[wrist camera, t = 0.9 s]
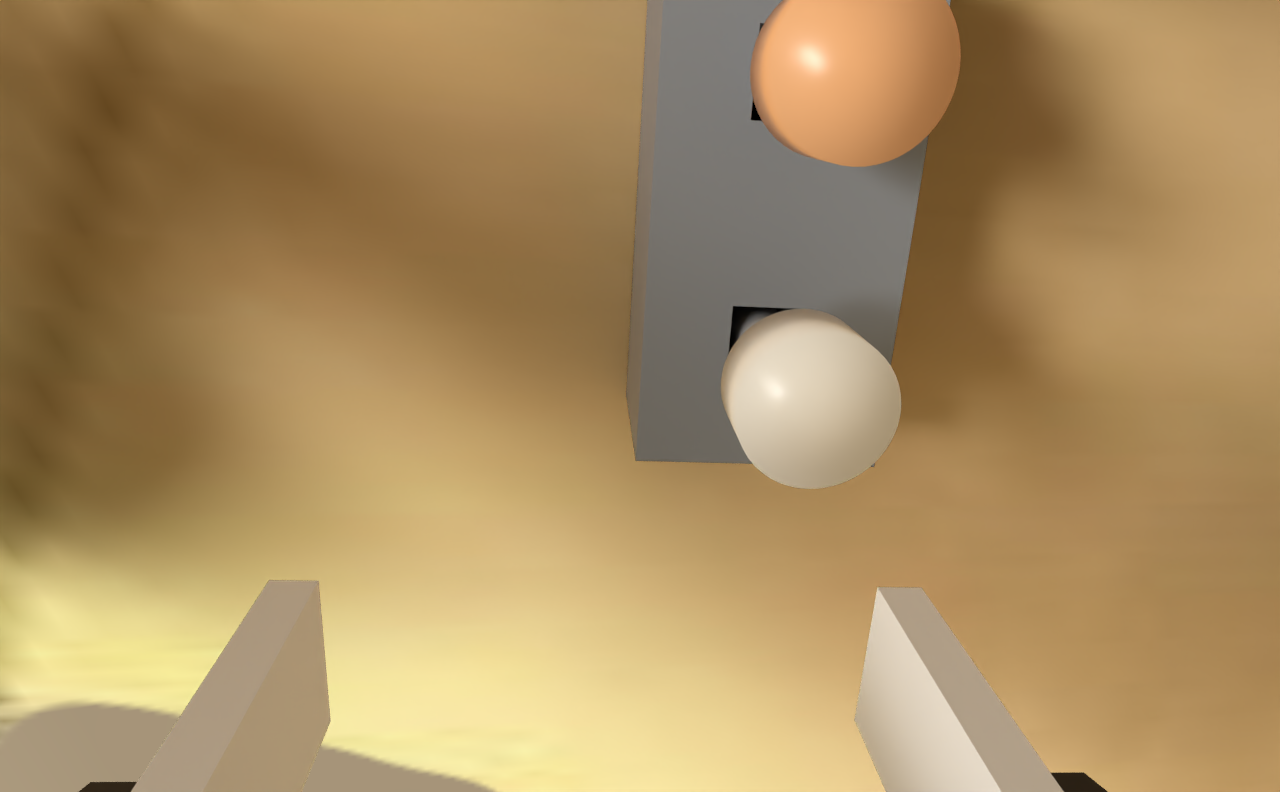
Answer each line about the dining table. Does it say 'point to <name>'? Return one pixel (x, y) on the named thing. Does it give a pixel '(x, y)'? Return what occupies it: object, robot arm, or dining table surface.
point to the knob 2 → (807, 396)
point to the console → (740, 229)
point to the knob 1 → (855, 76)
